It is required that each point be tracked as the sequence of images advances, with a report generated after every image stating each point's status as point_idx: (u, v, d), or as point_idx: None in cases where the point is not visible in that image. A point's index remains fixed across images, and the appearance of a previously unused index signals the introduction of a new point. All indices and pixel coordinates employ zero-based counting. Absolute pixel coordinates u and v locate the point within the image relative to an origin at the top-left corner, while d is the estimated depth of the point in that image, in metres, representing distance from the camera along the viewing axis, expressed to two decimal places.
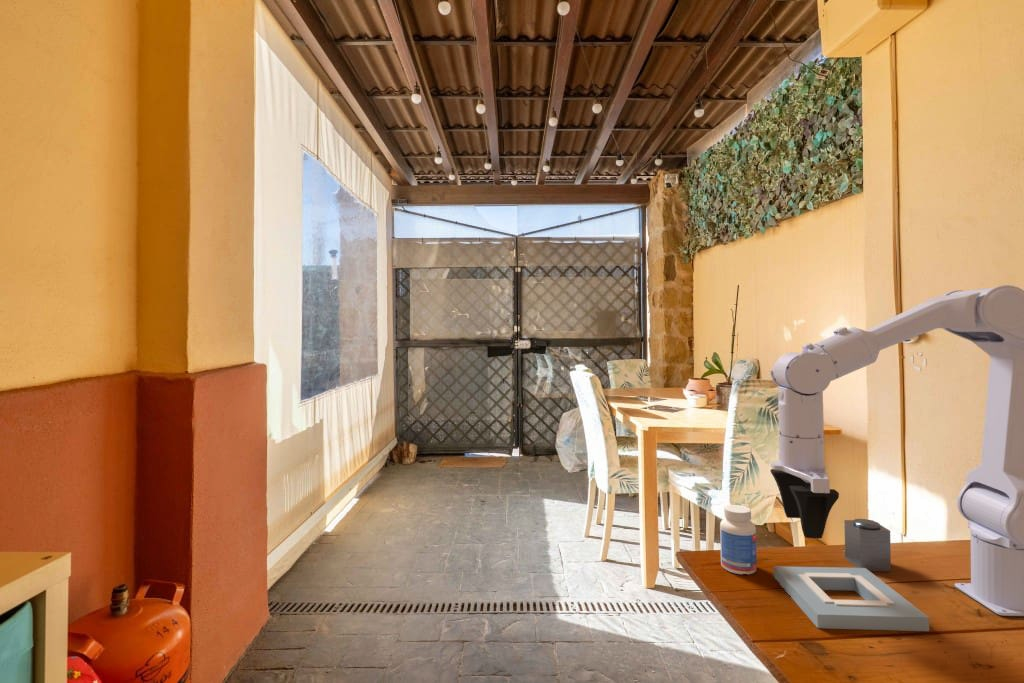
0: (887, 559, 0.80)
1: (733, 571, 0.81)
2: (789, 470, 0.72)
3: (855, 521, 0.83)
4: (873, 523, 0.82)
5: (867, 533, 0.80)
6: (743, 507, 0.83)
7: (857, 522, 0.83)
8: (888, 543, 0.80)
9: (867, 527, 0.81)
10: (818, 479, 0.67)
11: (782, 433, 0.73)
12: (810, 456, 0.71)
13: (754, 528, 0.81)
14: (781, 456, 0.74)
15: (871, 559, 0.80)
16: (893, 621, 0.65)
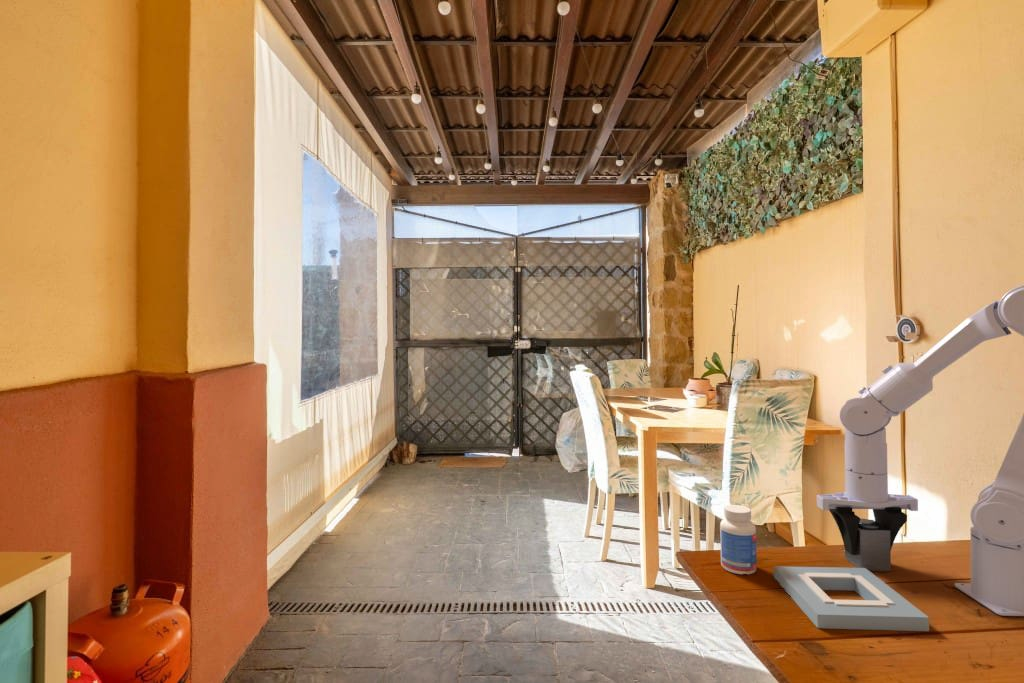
0: (887, 559, 0.80)
1: (733, 571, 0.81)
2: None
3: None
4: (873, 523, 0.82)
5: (867, 533, 0.80)
6: (743, 507, 0.83)
7: None
8: (888, 543, 0.80)
9: (867, 527, 0.81)
10: (818, 496, 0.83)
11: (845, 466, 0.84)
12: (848, 486, 0.82)
13: (754, 528, 0.81)
14: None
15: (871, 559, 0.80)
16: (893, 621, 0.65)
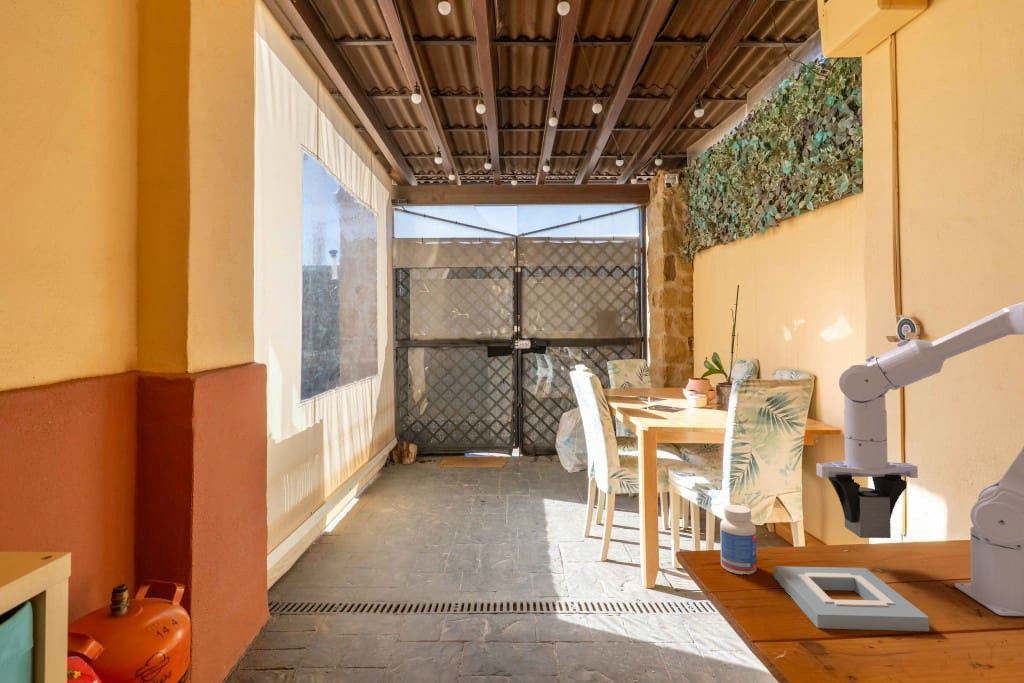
0: (887, 526, 0.80)
1: (733, 571, 0.81)
2: None
3: None
4: (873, 491, 0.82)
5: (867, 500, 0.80)
6: (743, 507, 0.83)
7: None
8: (888, 510, 0.80)
9: (867, 494, 0.81)
10: (818, 465, 0.83)
11: (844, 434, 0.84)
12: (848, 453, 0.82)
13: (754, 528, 0.81)
14: None
15: (871, 526, 0.80)
16: (893, 621, 0.65)
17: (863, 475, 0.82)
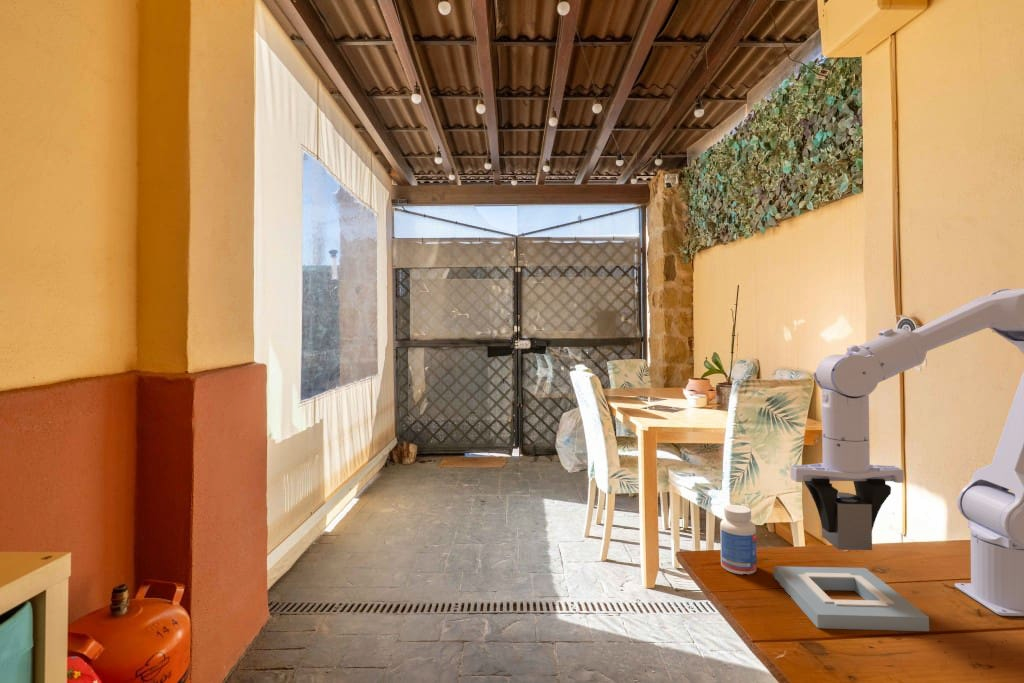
0: (868, 536, 0.71)
1: (733, 571, 0.81)
2: None
3: None
4: (853, 496, 0.73)
5: (846, 507, 0.71)
6: (743, 507, 0.83)
7: None
8: (869, 518, 0.71)
9: (846, 500, 0.72)
10: (792, 467, 0.74)
11: (826, 436, 0.73)
12: (825, 455, 0.73)
13: (754, 528, 0.81)
14: None
15: (850, 537, 0.71)
16: (893, 621, 0.65)
17: (842, 479, 0.73)
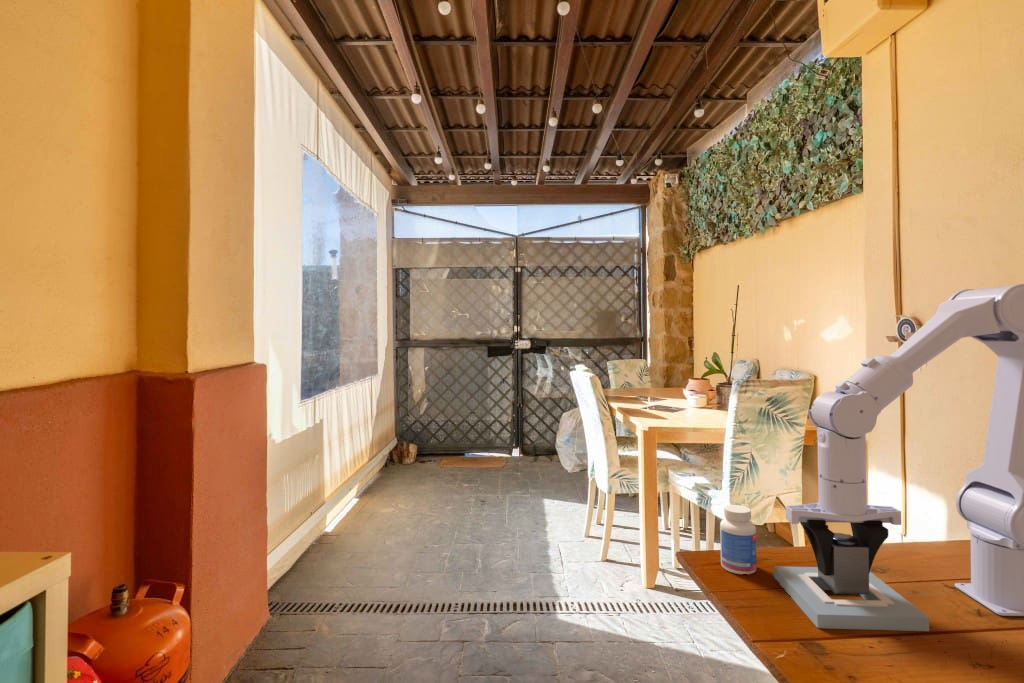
0: (865, 580, 0.69)
1: (733, 571, 0.81)
2: None
3: None
4: (849, 538, 0.71)
5: (842, 551, 0.69)
6: (743, 507, 0.83)
7: None
8: (866, 562, 0.69)
9: (842, 543, 0.70)
10: (787, 508, 0.72)
11: (823, 477, 0.71)
12: (821, 495, 0.71)
13: (754, 528, 0.81)
14: None
15: (846, 581, 0.70)
16: (893, 621, 0.65)
17: (839, 521, 0.71)
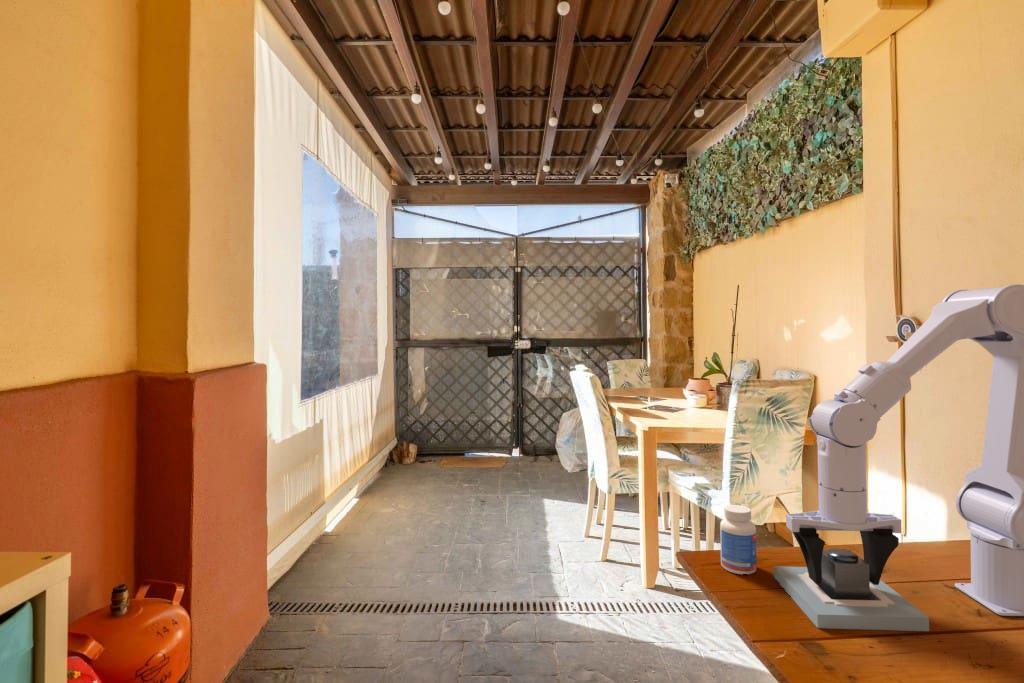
0: (866, 597, 0.69)
1: (733, 571, 0.81)
2: None
3: (830, 552, 0.72)
4: (850, 554, 0.71)
5: (843, 567, 0.69)
6: (743, 507, 0.83)
7: (832, 553, 0.72)
8: (867, 578, 0.69)
9: (843, 560, 0.70)
10: (788, 516, 0.72)
11: (824, 485, 0.71)
12: (822, 503, 0.71)
13: (754, 528, 0.81)
14: None
15: (847, 597, 0.70)
16: (893, 621, 0.65)
17: (839, 529, 0.71)
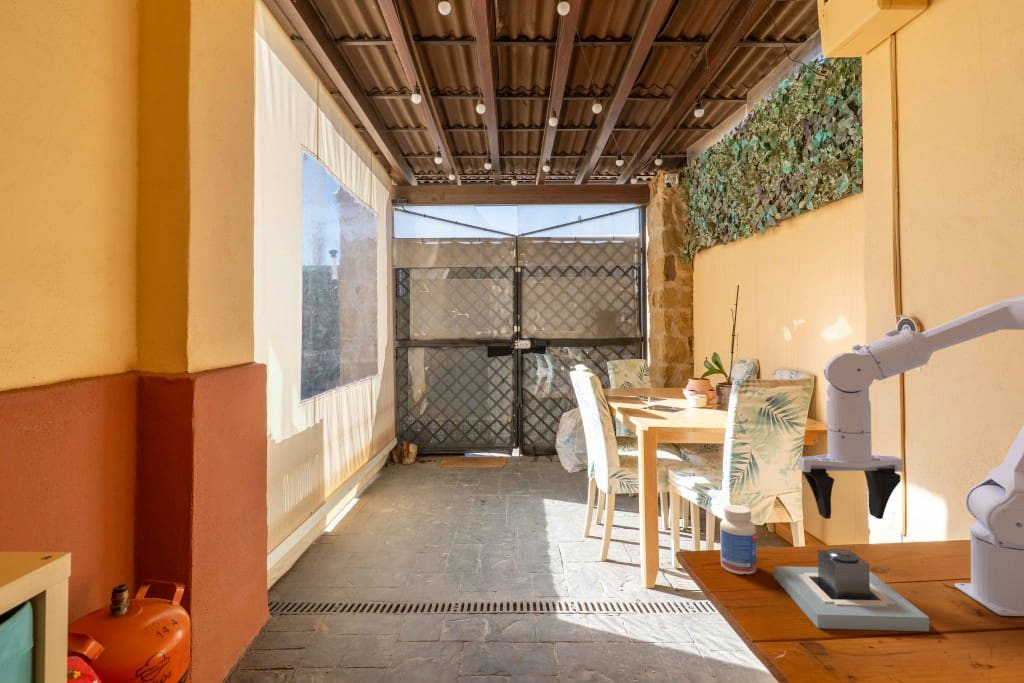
0: (866, 597, 0.69)
1: (733, 571, 0.81)
2: None
3: (830, 552, 0.72)
4: (850, 554, 0.71)
5: (843, 567, 0.69)
6: (743, 507, 0.83)
7: (832, 553, 0.72)
8: (867, 578, 0.69)
9: (843, 560, 0.70)
10: (800, 458, 0.80)
11: (828, 427, 0.79)
12: (831, 446, 0.79)
13: (754, 528, 0.81)
14: None
15: (847, 597, 0.70)
16: (893, 621, 0.65)
17: (846, 469, 0.78)
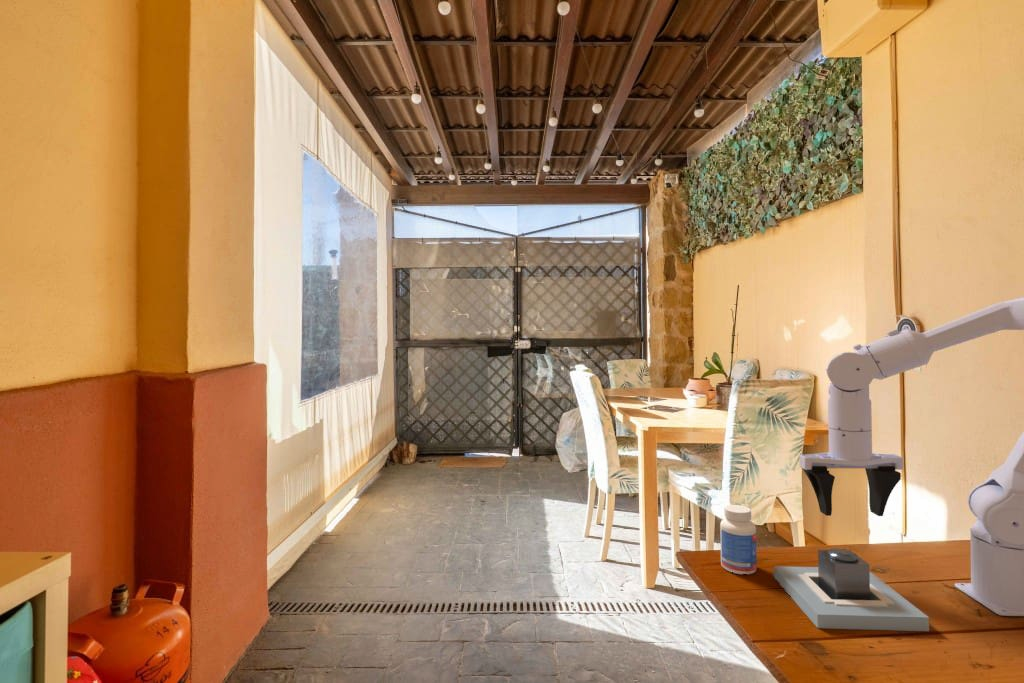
0: (866, 597, 0.69)
1: (733, 571, 0.81)
2: None
3: (830, 552, 0.72)
4: (850, 554, 0.71)
5: (843, 567, 0.69)
6: (743, 507, 0.83)
7: (832, 553, 0.72)
8: (867, 578, 0.69)
9: (843, 560, 0.70)
10: (801, 456, 0.81)
11: (828, 425, 0.81)
12: (832, 444, 0.80)
13: (754, 528, 0.81)
14: None
15: (847, 597, 0.70)
16: (893, 621, 0.65)
17: (847, 467, 0.80)
